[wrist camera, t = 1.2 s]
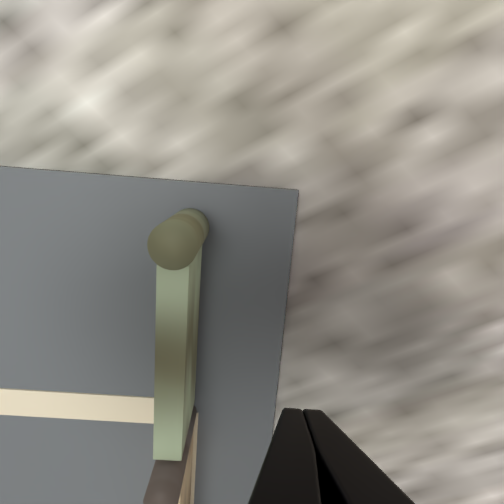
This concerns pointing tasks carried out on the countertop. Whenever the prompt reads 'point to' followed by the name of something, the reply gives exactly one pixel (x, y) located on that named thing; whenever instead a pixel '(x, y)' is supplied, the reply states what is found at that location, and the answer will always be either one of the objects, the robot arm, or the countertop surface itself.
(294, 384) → the countertop surface
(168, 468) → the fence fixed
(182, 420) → the folding panel
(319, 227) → the countertop surface
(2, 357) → the card
